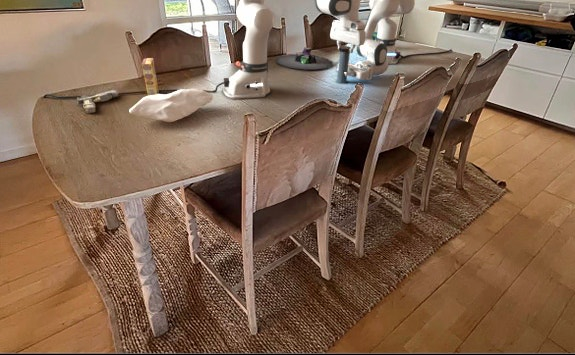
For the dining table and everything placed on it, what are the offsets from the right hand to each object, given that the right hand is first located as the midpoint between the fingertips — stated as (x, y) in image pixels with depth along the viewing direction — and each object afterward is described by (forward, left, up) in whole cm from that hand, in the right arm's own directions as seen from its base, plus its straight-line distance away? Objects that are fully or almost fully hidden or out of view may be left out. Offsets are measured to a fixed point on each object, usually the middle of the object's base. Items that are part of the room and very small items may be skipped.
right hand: (341, 72), depth 190 cm
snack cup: (-85, -17, -5) cm, 87 cm away
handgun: (+96, -65, -5) cm, 116 cm away
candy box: (+75, -57, -5) cm, 94 cm away
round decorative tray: (-19, -35, -5) cm, 40 cm away
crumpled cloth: (+84, -34, -5) cm, 90 cm away
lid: (-1, 0, +12) cm, 12 cm away
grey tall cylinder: (-1, 0, -5) cm, 5 cm away
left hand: (-1, 0, +10) cm, 11 cm away
